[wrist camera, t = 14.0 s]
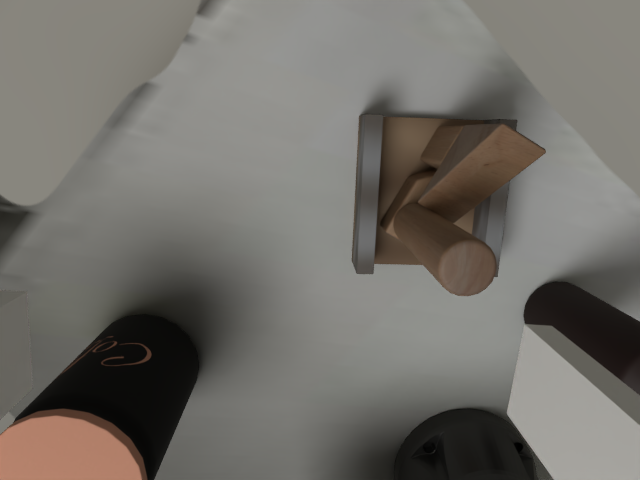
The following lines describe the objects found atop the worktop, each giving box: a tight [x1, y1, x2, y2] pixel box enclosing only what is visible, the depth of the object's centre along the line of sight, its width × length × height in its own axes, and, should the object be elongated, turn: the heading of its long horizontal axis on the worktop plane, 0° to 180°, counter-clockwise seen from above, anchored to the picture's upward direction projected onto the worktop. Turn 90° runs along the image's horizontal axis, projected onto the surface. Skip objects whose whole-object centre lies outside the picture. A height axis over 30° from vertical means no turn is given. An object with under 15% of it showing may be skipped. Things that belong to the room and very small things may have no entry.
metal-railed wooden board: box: [352, 114, 517, 277], centre depth 43 cm, size 14×13×4 cm
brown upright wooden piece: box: [380, 123, 546, 296], centre depth 35 cm, size 4×11×18 cm, turn 150°
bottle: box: [524, 282, 640, 395], centre depth 39 cm, size 7×7×20 cm
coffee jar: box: [0, 314, 199, 480], centre depth 39 cm, size 11×11×18 cm
